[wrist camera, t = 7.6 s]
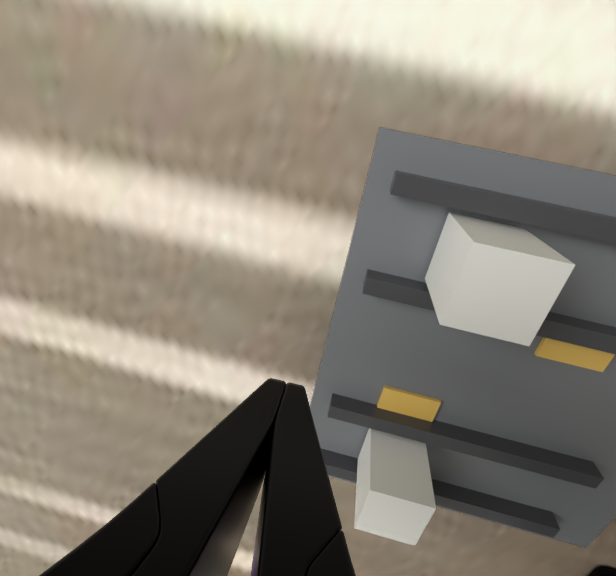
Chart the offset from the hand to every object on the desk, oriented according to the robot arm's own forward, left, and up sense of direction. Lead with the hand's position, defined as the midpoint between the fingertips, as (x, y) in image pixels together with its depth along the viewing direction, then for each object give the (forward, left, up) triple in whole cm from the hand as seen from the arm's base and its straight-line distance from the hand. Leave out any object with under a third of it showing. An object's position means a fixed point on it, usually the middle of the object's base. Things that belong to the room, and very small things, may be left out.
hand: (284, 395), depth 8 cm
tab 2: (-6, -2, -9) cm, 11 cm away
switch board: (-10, +4, -11) cm, 15 cm away
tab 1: (-6, +10, -9) cm, 15 cm away
